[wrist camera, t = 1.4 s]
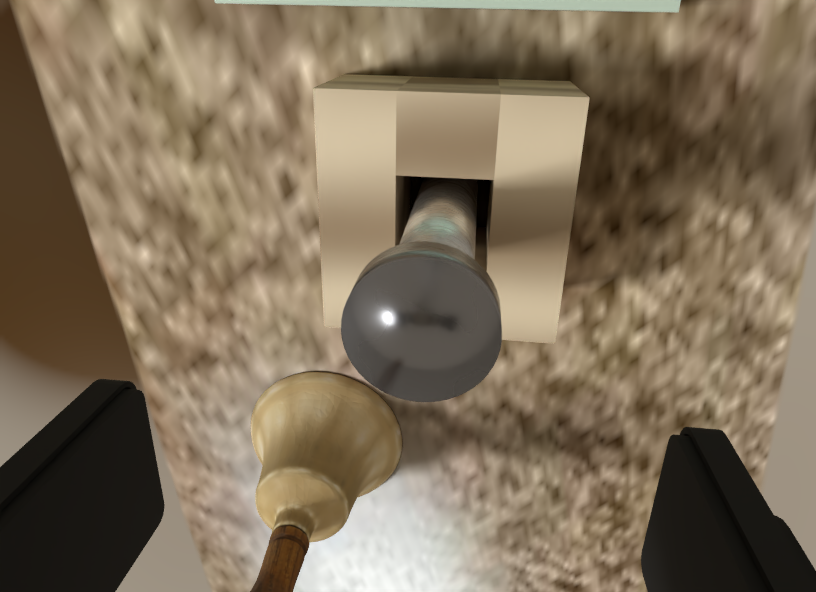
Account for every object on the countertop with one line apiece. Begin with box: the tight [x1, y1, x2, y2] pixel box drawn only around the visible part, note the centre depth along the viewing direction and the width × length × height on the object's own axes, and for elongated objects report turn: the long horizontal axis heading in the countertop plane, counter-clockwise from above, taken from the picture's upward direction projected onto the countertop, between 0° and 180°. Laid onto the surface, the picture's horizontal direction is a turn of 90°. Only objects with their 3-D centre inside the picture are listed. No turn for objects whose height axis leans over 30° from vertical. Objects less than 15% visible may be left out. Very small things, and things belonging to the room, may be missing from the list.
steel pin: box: [341, 177, 502, 402], centre depth 20 cm, size 4×4×13 cm
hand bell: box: [250, 372, 403, 592], centre depth 26 cm, size 8×8×16 cm
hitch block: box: [313, 74, 590, 344], centre depth 24 cm, size 9×9×5 cm
